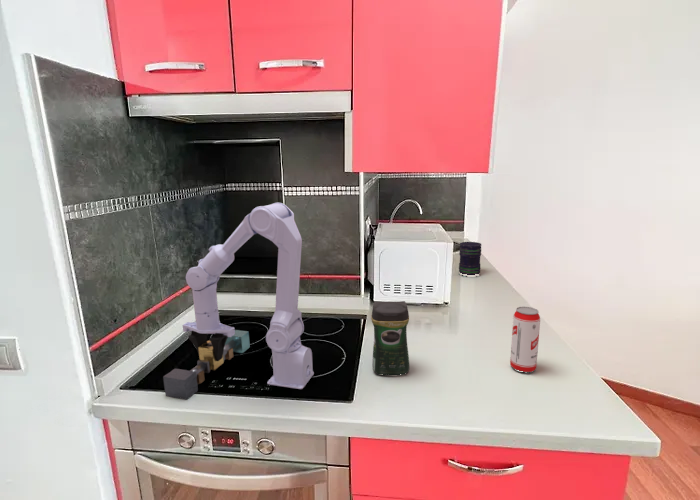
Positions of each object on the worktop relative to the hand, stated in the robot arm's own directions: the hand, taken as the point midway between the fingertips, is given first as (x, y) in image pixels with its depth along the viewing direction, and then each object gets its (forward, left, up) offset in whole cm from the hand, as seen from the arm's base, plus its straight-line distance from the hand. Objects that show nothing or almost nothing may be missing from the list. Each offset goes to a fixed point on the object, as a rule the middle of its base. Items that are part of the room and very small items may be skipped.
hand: (211, 358), depth 106 cm
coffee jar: (-46, -11, -3) cm, 48 cm away
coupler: (0, 0, -2) cm, 2 cm away
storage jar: (-65, -108, -3) cm, 127 cm away
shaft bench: (0, 0, -3) cm, 3 cm away
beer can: (-79, -20, -3) cm, 82 cm away
